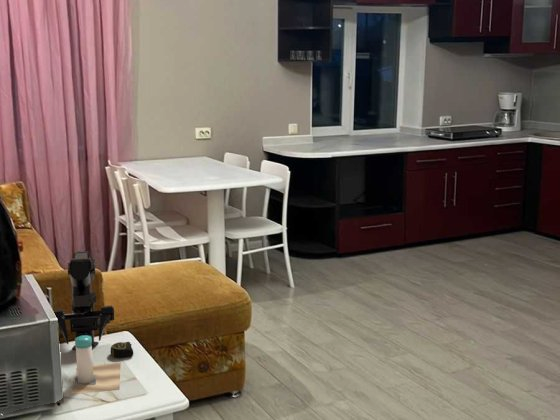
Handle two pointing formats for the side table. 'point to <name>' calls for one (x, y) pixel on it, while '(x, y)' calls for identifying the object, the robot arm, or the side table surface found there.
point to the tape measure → (121, 350)
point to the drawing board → (100, 379)
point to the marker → (84, 359)
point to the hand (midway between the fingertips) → (83, 341)
